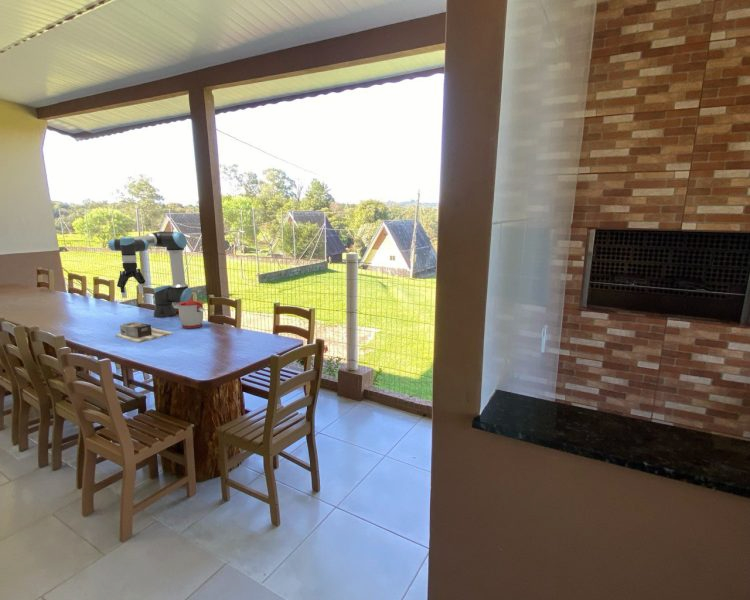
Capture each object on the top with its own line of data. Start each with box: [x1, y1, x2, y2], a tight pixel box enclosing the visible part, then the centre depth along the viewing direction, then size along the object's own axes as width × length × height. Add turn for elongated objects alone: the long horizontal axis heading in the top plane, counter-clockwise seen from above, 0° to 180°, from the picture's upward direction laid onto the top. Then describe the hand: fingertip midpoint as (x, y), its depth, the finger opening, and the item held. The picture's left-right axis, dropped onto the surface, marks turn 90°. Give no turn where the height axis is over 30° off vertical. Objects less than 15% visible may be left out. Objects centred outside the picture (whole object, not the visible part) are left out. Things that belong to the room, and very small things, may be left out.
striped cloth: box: [115, 327, 174, 343], centre depth 239 cm, size 22×24×1 cm
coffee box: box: [119, 321, 152, 337], centre depth 236 cm, size 9×6×16 cm
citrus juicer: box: [177, 298, 205, 329], centre depth 260 cm, size 16×17×20 cm
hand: (133, 295), depth 238 cm, fingers open, 13 cm apart
